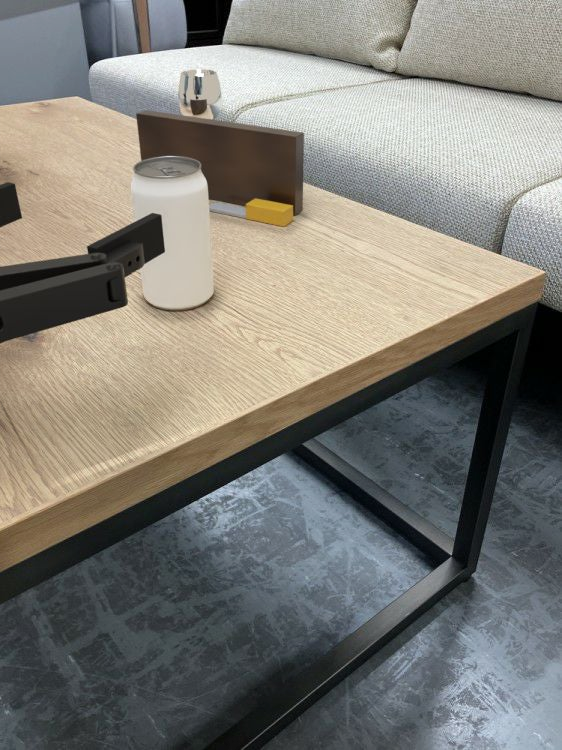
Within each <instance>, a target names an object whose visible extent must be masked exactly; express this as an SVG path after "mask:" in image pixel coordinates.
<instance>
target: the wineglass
mask: <svg viewBox="0 0 562 750" xmlns="http://www.w3.org/2000/svg"><path fill="white" fill-rule="evenodd" d="M220 83H221V82H220V80H219V75H218V73H217V71H216V70H212V69H203V68H202V69H188V70H184V71H181V72H180V75H179V83H178V92H177V93H178V94H177V95H178V96H177V97H178V106H179V110H180V113H181V115H184V116H191V117H198V118H205V119H212V120H217V118H218V117H219V116H220V115H221V113H222V110H223V109H222V108H223V92H222V88H221V84H220Z"/></svg>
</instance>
